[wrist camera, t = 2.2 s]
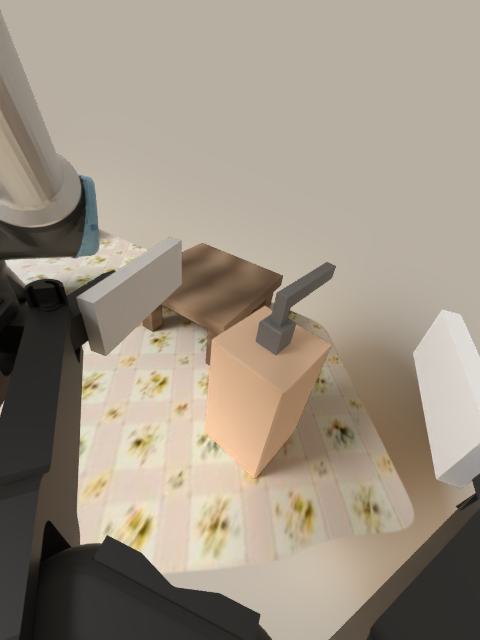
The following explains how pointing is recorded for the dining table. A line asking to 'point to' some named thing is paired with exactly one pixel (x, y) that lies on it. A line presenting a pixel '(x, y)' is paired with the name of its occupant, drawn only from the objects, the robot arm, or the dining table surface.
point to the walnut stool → (217, 291)
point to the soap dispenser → (264, 377)
